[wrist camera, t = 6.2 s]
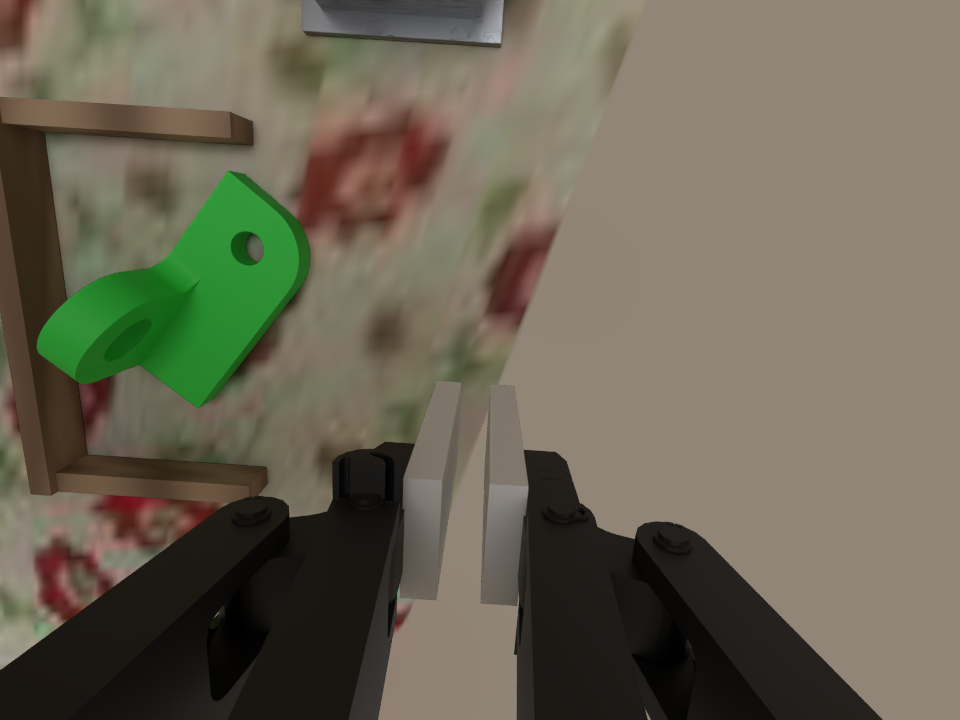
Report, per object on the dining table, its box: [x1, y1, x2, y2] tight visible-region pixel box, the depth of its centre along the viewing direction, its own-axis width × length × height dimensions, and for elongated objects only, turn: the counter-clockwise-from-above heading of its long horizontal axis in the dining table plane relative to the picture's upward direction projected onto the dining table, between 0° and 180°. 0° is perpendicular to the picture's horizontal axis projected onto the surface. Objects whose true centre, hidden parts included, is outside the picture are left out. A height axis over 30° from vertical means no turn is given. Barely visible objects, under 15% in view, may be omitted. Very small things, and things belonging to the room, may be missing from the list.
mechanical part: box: [37, 171, 310, 408], centre depth 27 cm, size 12×6×8 cm, turn 139°
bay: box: [0, 97, 267, 503], centre depth 29 cm, size 13×21×3 cm, turn 176°
